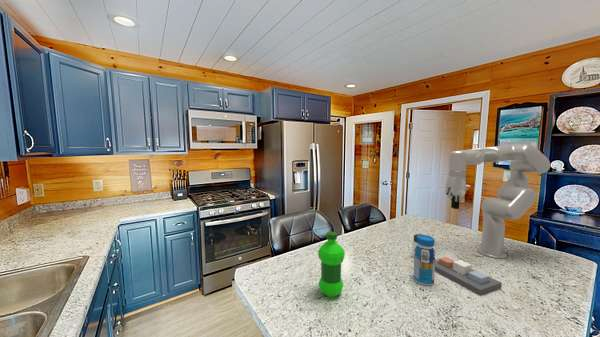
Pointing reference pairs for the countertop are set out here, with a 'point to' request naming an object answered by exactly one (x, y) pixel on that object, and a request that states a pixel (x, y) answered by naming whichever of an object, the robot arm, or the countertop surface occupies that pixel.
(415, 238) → the jar
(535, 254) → the countertop surface
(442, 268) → the slotted grey plate
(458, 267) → the ivory key
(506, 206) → the robot arm
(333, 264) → the plastic bottle
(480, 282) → the slate key
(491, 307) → the countertop surface
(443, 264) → the brick key
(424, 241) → the beverage bottle
